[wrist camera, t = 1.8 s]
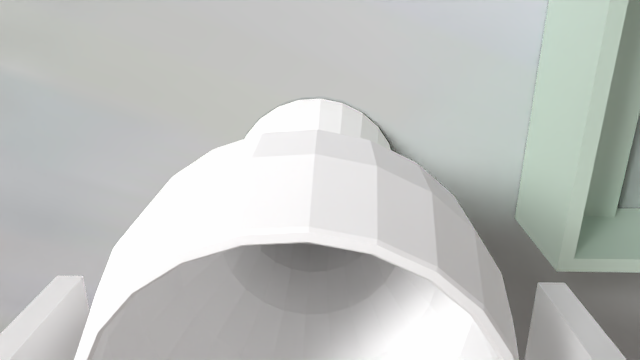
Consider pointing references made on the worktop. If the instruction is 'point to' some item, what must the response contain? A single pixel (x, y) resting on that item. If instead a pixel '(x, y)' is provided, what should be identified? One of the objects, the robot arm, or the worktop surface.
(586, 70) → the dish rack
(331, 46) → the worktop surface
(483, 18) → the worktop surface
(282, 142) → the cup
